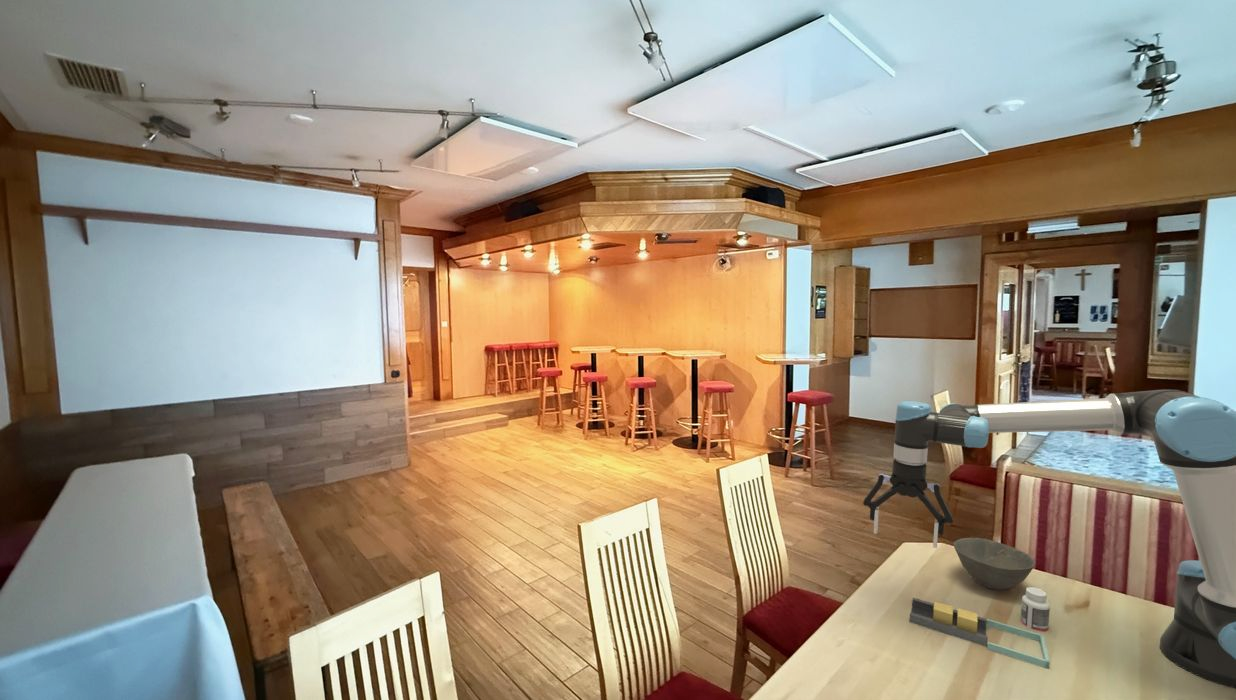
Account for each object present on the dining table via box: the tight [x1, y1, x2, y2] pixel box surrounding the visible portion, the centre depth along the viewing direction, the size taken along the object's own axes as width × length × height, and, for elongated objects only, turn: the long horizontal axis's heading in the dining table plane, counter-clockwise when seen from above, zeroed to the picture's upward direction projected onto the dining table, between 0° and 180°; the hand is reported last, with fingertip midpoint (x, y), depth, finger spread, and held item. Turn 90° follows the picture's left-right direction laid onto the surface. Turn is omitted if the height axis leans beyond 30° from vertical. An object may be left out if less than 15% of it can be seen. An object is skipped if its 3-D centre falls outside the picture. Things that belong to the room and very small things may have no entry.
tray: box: [985, 618, 1051, 670], centre depth 116 cm, size 11×11×2 cm
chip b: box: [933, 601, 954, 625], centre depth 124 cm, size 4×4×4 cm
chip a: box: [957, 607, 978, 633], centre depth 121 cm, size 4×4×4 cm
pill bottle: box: [1020, 586, 1051, 632], centre depth 123 cm, size 5×5×10 cm
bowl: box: [953, 537, 1036, 591], centre depth 142 cm, size 19×19×10 cm
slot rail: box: [908, 597, 989, 647], centre depth 124 cm, size 16×9×3 cm, turn 54°
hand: (904, 538), depth 128 cm, fingers open, 13 cm apart
